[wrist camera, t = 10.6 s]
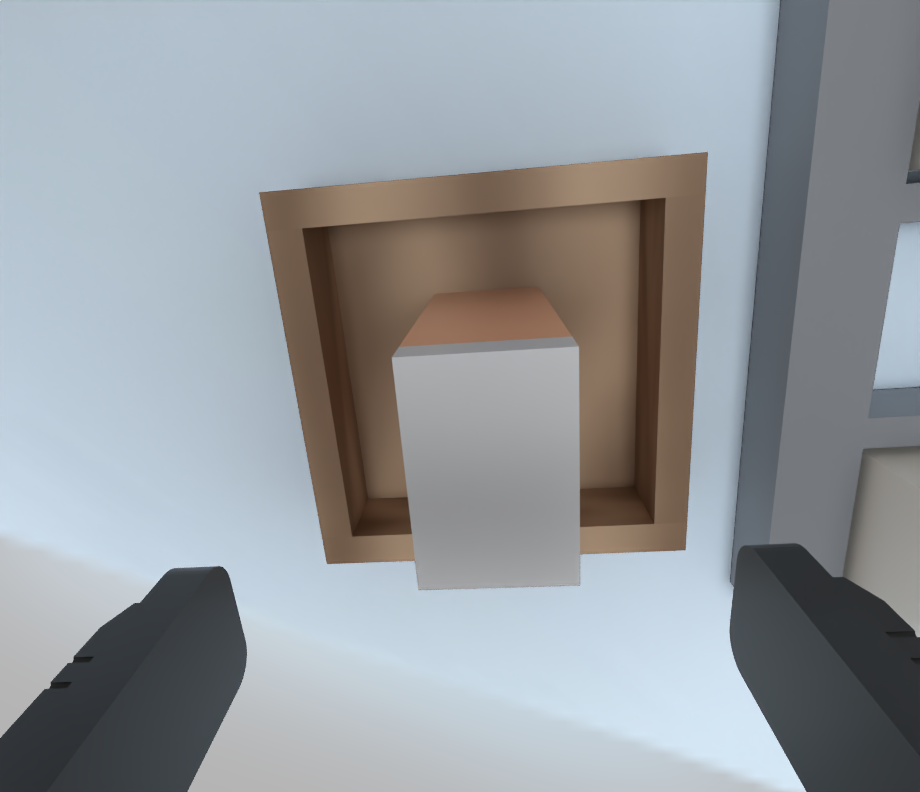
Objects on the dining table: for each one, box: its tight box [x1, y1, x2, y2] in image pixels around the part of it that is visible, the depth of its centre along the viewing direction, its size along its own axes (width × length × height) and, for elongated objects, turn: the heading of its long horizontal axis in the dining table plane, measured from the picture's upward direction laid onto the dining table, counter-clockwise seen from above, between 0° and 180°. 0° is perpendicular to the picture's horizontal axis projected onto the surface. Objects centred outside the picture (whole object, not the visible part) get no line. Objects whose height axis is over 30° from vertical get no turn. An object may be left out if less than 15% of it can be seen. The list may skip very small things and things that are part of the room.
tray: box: [259, 152, 708, 564], centre depth 21 cm, size 14×14×4 cm
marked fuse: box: [392, 287, 580, 590], centre depth 17 cm, size 6×4×10 cm, turn 4°
